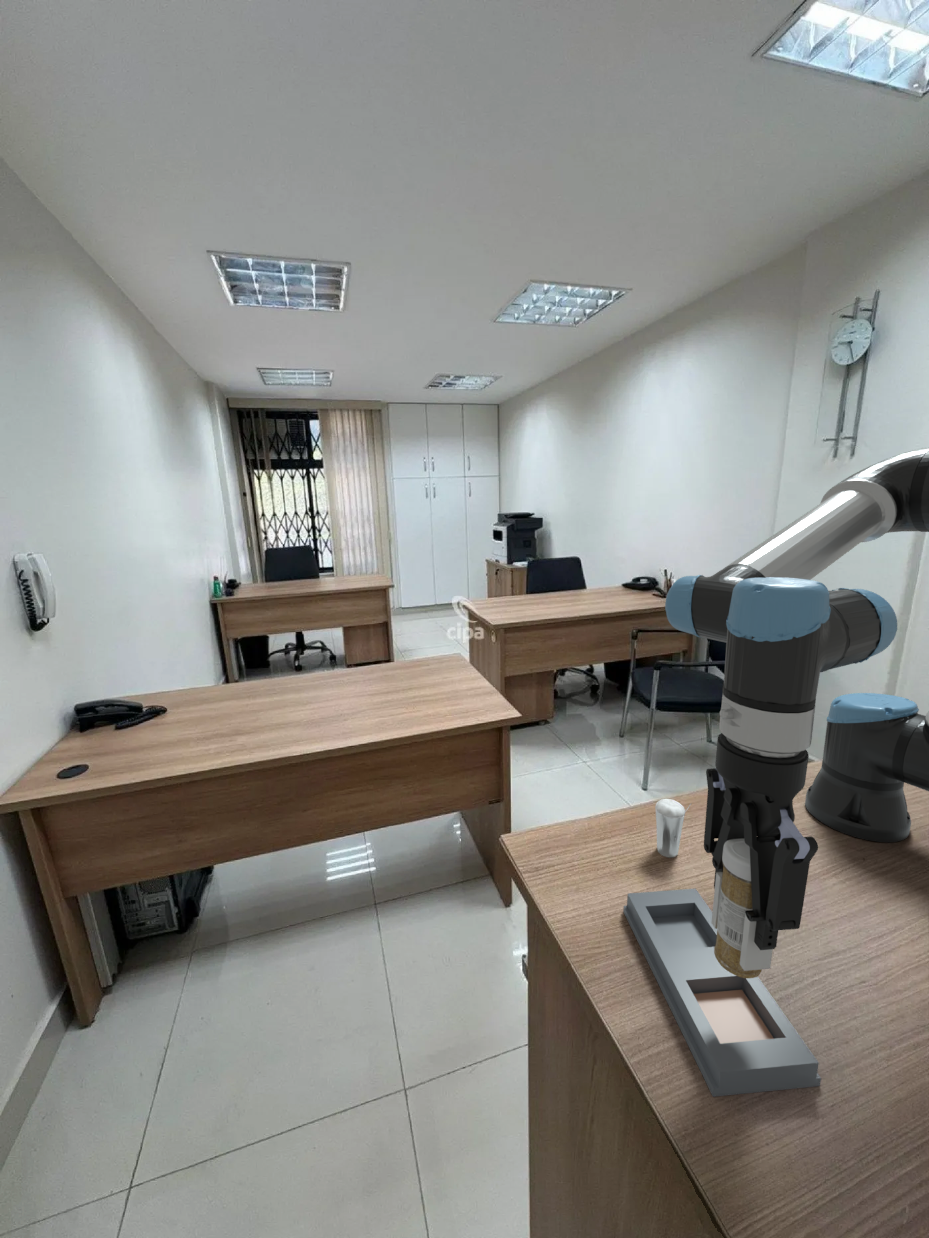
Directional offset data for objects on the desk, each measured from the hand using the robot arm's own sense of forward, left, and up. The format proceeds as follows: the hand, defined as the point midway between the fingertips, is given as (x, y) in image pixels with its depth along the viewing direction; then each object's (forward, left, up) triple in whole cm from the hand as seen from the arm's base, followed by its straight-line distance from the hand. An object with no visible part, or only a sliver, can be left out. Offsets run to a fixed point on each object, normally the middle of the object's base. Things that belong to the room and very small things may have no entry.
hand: (739, 944), depth 52 cm
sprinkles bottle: (0, 0, -2) cm, 2 cm away
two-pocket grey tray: (0, -6, -11) cm, 13 cm away
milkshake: (-7, -29, -11) cm, 32 cm away
